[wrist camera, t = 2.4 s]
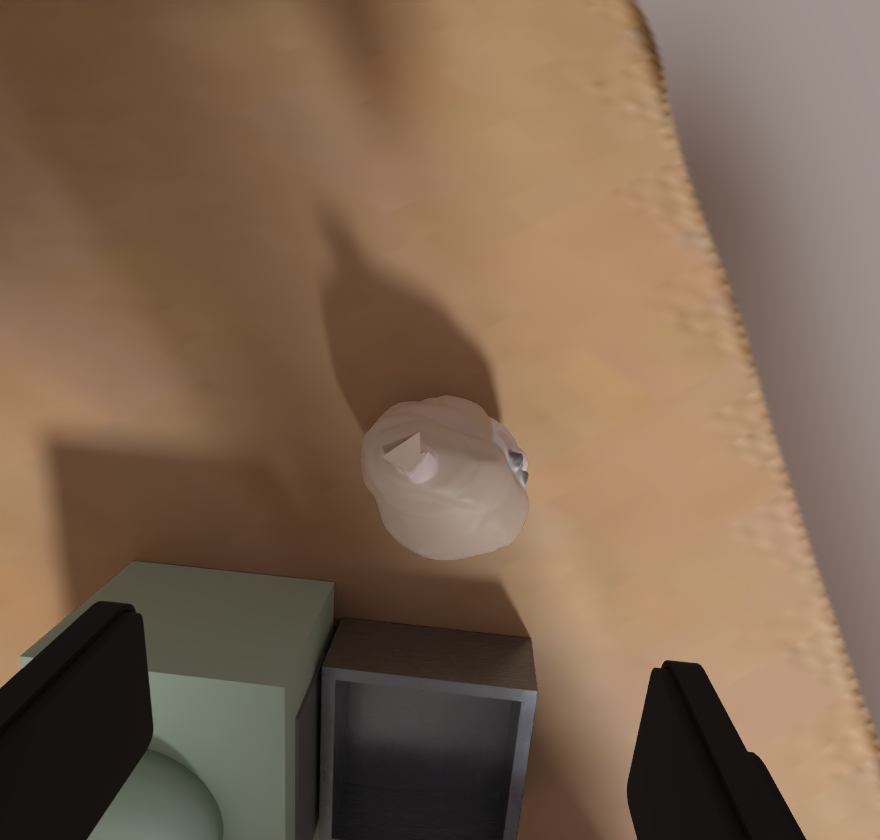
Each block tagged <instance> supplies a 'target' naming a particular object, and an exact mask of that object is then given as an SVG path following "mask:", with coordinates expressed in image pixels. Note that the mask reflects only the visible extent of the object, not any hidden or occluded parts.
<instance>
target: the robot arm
mask: <svg viewBox="0 0 880 840" xmlns="http://www.w3.org/2000/svg"><path fill="white" fill-rule="evenodd" d="M152 736H153V716H152V705H151V695H150V685H149V675H148V664H147V654H146V644H145V634H144V623H143V617H142V615H141V614H140V613H136V610H135V608H134V606H133V605H132V604H128V603H119V602H110V601H98V602H96V603H94V604H93V605H92V606H91V607H89V608H88V609H87V610H86V611H85V612H84V613H83V614H82V615H81V616H80V617H78V618H77V619H76V620H75V621H74V622H73V623H72V624H71V625H70V626H69V627H67V628H66V629H65V630H64V631H63V632H62V633H61V634H60V635H59V636H58V637H56V638H55V639H54V640H53V641H52V642H51V643H50V644H49V645H48V646H47V647H45V648H44V649H43V650H42V651H41V652H40V653H39V654H38V655H37V656H36V657H34V658H33V659H32V660H31V661H30V662H29V663H28V664H27V665H26V666H24V667H23V668H22V669H21V670H20V671H19V672H18V673H17V674H16V675H15V676H13V677H12V678H11V679H10V680H9V681H8V682H7V683H6V684H5V685H4V686H2V687H1V688H0V840H87V839H88V837H89V836H90V834H91V833H92V831H93V830H94V828H95V827H96V825H97V824H98V822H99V821H100V819H101V818H102V816H103V815H104V813H105V812H106V810H107V809H108V807H109V806H110V804H111V803H112V801H113V800H114V798H115V797H116V795H117V794H118V792H119V791H120V789H121V788H122V786H123V785H124V783H125V782H126V780H127V779H128V778H129V776H130V775H131V773H132V772H133V770H134V769H135V767H136V766H137V764H138V763H139V761H140V760H141V758H142V757H143V755H144V754H145V752H146V750H147V749H148V747H149V745H150V742H151V739H152ZM627 798H628V805H629V810H630V813H631V817H632V821H633V825H634V829H635V832H636V836H637V840H806V838H805V836H804V835H803V833H802V831H801V829H800V827H799V826H798V824H797V822H796V820H795V818H794V817H793V815H792V813H791V811H790V809H789V807H788V806H787V804H786V802H785V800H784V798H783V797H782V795H781V793H780V791H779V789H778V788H777V786H776V784H775V782H774V780H773V778H772V777H771V775H770V773H769V771H768V769H767V768H766V766H765V765H764V763H763V762H762V760H761V759H760V757H758V756H757V755H756V754H755V753H753V752H747V750H746V748H745V746H744V744H743V742H742V740H741V739H740V737H739V735H738V733H737V731H736V729H735V727H734V725H733V723H732V722H731V720H730V718H729V716H728V714H727V712H726V710H725V708H724V707H723V705H722V703H721V701H720V699H719V697H718V695H717V693H716V691H715V690H714V688H713V686H712V684H711V682H710V680H709V678H708V676H707V675H706V673H705V671H704V669H703V668H702V666H701V665H699V664H698V663H688V662H679V661H669V660H667V661H664V663H663V664H662V667H661V668H653V670H652V672H651V676H650V681H649V685H648V690H647V694H646V699H645V704H644V708H643V713H642V718H641V722H640V727H639V732H638V736H637V741H636V746H635V750H634V755H633V759H632V764H631V769H630V773H629V778H628V784H627Z"/></svg>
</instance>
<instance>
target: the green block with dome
mask: <svg viewBox="0 0 880 840" xmlns="http://www.w3.org/2000/svg"><path fill="white" fill-rule="evenodd" d="M334 584H335V582H328V581H318V580H309V579H299V578H290V577H281V576H271V575H262V574H253V573H243V572H234V571H224V570H215V569H206V568H196V567H187V566H178V565H168V564H159V563H149V562H140V561H132V562H131V563H130V564H129V565H128V566H126V567H125V568H124V569H123V570H122V571H121V572H119V573H118V574H117V575H116V576H115V577H113V578H112V579H111V580H110V581H109V582H107V583H106V584H105V585H104V586H103V587H102V588H100V589H99V590H98V591H97V592H96V593H94V594H93V595H92V596H91V597H90V598H88V599H87V600H86V601H85V602H84V603H83V604H81V605H80V606H79V607H78V608H77V609H75V610H74V611H73V612H72V613H71V614H69V615H68V616H67V617H66V618H65V619H64V620H62V621H61V622H60V623H59V624H58V625H56V626H55V627H54V628H53V629H52V630H50V631H49V632H48V633H47V634H46V635H45V636H43V637H42V638H41V639H40V640H39V641H37V642H36V643H35V644H34V645H33V646H31V647H30V648H29V649H28V650H27V651H26V652H24V653H23V654H22V655H21V656H20V660H21V667H22V668H23V667H24V666H26V665H27V664H28V663H29V662H30V661H31V660H32V659H33V658H34V657H36V656H37V655H38V654H39V653H40V652H41V651H42V650H43V649H44V648H45V647H47V646H48V645H49V644H50V643H51V642H52V641H53V640H54V639H55V638H56V637H58V636H59V635H60V634H61V633H62V632H63V631H64V630H65V629H66V628H67V627H69V626H70V625H71V624H72V623H73V622H74V621H75V620H76V619H77V618H78V617H80V616H81V615H82V614H83V613H84V612H85V611H86V610H87V609H88V608H89V607H91V606H92V605H93V604H94V603H96V602H98V601H110V602H119V603H128V604H132V605H133V606H134V608H135V610H136V613H140V614H141V615H142V617H143V623H144V634H145V644H146V654H147V664H148V675H149V685H150V695H151V705H152V716H153V736H152V739H151V742H150V745H149V747H148V749H147V750H146V752H145V754H144V755H143V757H142V758H141V760H140V761H139V763H138V764H137V766H136V767H135V769H134V770H133V772H132V773H131V775H130V776H129V778H128V779H127V780H126V782H125V783H124V785H123V786H122V788H121V789H120V791H119V792H118V794H117V795H116V797H115V798H114V800H113V801H112V803H111V804H110V806H109V807H108V809H107V810H106V812H105V813H104V815H103V816H102V818H101V819H100V821H99V822H98V824H97V825H96V827H95V828H94V830H93V831H92V833H91V834H90V836H89V837H88V839H87V840H319V805H320V746H321V688H322V665H323V663H324V660H325V658H326V655H327V653H328V650H329V648H330V645H331V643H332V640H333V627H334Z"/></svg>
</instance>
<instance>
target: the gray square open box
mask: <svg viewBox="0 0 880 840" xmlns="http://www.w3.org/2000/svg"><path fill="white" fill-rule="evenodd" d="M537 692H538V691H537V683H536V675H535V667H534V658H533V650H532V642H531V638H524V637H515V636H506V635H497V634H487V633H478V632H469V631H460V630H451V629H442V628H433V627H424V626H415V625H406V624H397V623H388V622H378V621H369V620H360V619H351V618H341V621H340V623H339V626H338V628H337V631H336V633H335V635H334V638H333V640H332V643H331V645H330V648H329V650H328V653H327V655H326V658H325V660H324V663H323V665H322V688H321V746H320V805H319V840H517V833H518V826H519V819H520V812H521V805H522V797H523V790H524V783H525V776H526V769H527V762H528V755H529V748H530V741H531V734H532V727H533V720H534V713H535V706H536V699H537Z"/></svg>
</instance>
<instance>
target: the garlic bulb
mask: <svg viewBox="0 0 880 840" xmlns="http://www.w3.org/2000/svg"><path fill="white" fill-rule="evenodd" d="M360 461H361V471H362V477H363V481H364V484H365V486H366V487H367V488H368V490H370V491H371V492H372V494H373V495H374V497H375V500H376V504H377V507H378V510H379V513H380V516H381V519H382V522H383V525H384V526H385V528H386V529H387V531H388V532H389V533H390V534H391V535H392V536H393V537H394V538H395V540H396V541H397V542H399V543H400V544H401V545H403V546H404V547H406V548H408V549H409V550H411V551H413V552H415V553H417V554H419V555H421V556H423V557H426V558H429V559H434V560H457V559H463V558H467V557H472V556H476V555H480V554H488V553H491V552H493V551H495V550H496V549H498V548H500V547H505V546H508V545H509V544H511V543H512V542H513V541H514V539H515V538H516V537H517V535H518V534H519V532H520V530H521V529H522V527H523V525H524V522H525V520H526V517H527V514H528V510H529V500H528V497H527V494H526V492H525V484H526V482H527V479H528V473H527V472H526V470H527V468H528V460H527V457H526V454H525V453H524V451H523V450H522V449H521V448H519V447H518V445H517V443H516V441H515V439H514V438H513V436H512V435H511V434H510V432H509V431H508V430H507V429H506V428H505V427H504V426H503V425H501V424H500V423H499V422H497V421H496V420H494V419H493V418H491V417H489V416H488V415H487V414H486V412H485V411H484V409H483V408H482V407H481V406H479V405H478V404H476V403H474V402H472V401H470V400H467V399H464V398H460V397H455V396H450V395H443V396H439V397H436V398H427V399H424V400H422V401H405V402H400V403H398V404H395V405H394V406H392V407H391V408H389V409H388V410H387V411H386V412H385V413H384V414H383V415H382V416H381V417H380V418H379V419H378V420H377V421H376V422H375V424H374V425H373V426H372V427H371V428H370V429H369V430H368V431H367V432H366V434H365V435H364V438H363V441H362V447H361V459H360Z"/></svg>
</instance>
